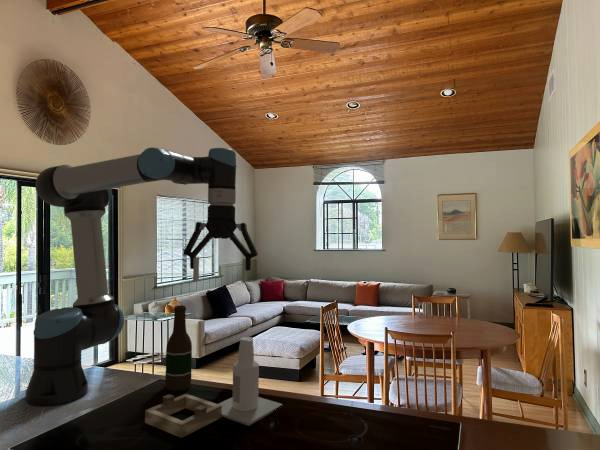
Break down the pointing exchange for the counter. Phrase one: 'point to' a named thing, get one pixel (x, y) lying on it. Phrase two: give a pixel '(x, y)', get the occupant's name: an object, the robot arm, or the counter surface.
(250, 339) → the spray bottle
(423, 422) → the counter surface
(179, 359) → the beer bottle
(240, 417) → the mat
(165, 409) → the wooden square frame
